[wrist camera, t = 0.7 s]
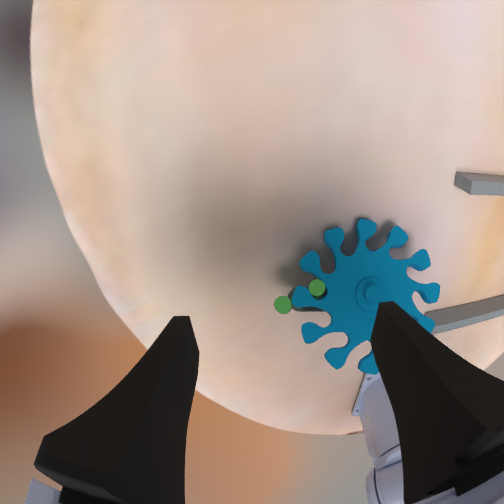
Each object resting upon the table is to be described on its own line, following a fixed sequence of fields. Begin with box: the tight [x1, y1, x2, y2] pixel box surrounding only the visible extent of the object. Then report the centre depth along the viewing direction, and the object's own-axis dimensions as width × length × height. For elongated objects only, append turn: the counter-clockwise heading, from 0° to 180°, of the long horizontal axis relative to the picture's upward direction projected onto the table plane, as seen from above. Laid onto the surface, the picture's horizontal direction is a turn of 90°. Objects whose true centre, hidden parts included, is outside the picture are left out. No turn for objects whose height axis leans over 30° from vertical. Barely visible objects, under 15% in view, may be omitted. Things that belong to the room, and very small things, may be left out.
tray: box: [425, 172, 504, 334], centre depth 19 cm, size 14×14×2 cm
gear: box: [274, 219, 440, 375], centre depth 19 cm, size 11×6×10 cm
